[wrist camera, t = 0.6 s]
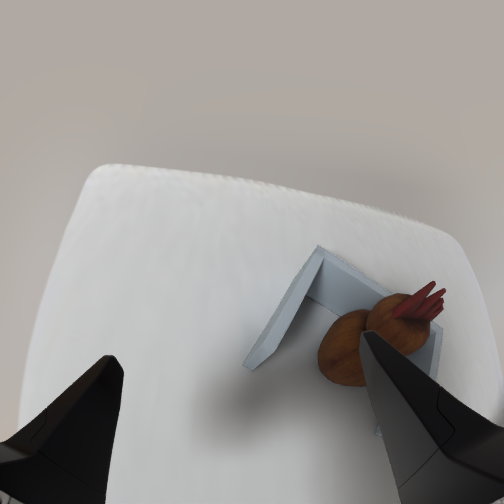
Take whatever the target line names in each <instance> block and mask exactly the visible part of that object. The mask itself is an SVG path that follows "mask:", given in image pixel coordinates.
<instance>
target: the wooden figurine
mask: <svg viewBox="0 0 504 504" xmlns="http://www.w3.org/2000/svg"><path fill="white" fill-rule="evenodd" d="M435 285H436V283H435V281H432V282H430V283H429V284H427V285H426V286H425V287H423V288H422V289H421V290H419V291H418V292H416V293H415V294H414V295H409V294H400V293H397V294H393V295H390V296H387V297H384V298H383V299H381V300H380V301H379V302H378V303H377V304H376V305H375V306H374V307H373V309H372V310H366V309H360V310H355V311H352V312H348V313H346V314H344V315H343V316H341V317H340V318H338V319H337V320H336V321H335V322H334V323H333V325H332V326H331V327H330V329H329V330H328V332H327V334H326V335H325V337H324V338H323V340H322V342H321V345H320V347H319V350H318V365H319V367H320V370H321V372H322V373H323V374H324V375H325V376H326V377H327V378H328V379H329V380H331V381H332V382H334V383H337V384H341V385H345V386H357V387H363V386H366V381H365V376H364V372H363V367H362V363H361V358H360V353H359V346H360V337H361V333H362V332H364V331H369V330H373V331H375V332H376V333H377V334H379V335H380V336H381V337H382V338H384V339H385V340H386V341H387V342H388V343H390V344H391V345H392V346H393V347H395V348H396V349H397V350H398V351H399V352H401V353H402V354H403V355H404V356H405V357H407V356H409V355H411V354H412V353H414V352H415V351H417V350H419V349H420V348H421V347H422V346H423V345H424V344H425V343H426V341H427V340H428V338H429V336H430V322H431V321H432V320H433V319H434V318H435V317H436V316H437V315H438V314H439V313H440V312H441V311H442V310H443V309H444V308H443V303H444V300H443V298H440V297H441V296H442V295H443V294H444V293H445V292H446V289H445V288H443V289H441V290H439V291H437V292H436V293H434V294H432V295H430V296H428V294H429V293H430V292H431V290H432V289H433V288H434V287H435ZM427 296H428V297H427ZM426 297H427V298H426Z"/></svg>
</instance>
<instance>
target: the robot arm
mask: <svg viewBox="0 0 504 504" xmlns="http://www.w3.org/2000/svg"><path fill="white" fill-rule="evenodd" d="M359 353H360V358H361V363H362V367H363V372H364V376H365V381H366V386H367V390H368V394H369V397H370V400H371V403H372V406H373V409H374V412H375V415H376V418H377V421H378V424H379V427H380V431H381V434H382V437H383V440H384V443H385V447H386V450H387V453H388V457H389V460H390V464H391V467H392V471H393V474H394V478H395V482H396V485H397V489H398V493H399V497H400V501H401V504H504V427H500V426H498V425H496V424H494V423H492V422H491V421H489V420H487V419H486V418H484V417H483V416H481V415H480V414H478V413H477V412H475V411H474V410H472V409H471V408H469V407H468V406H466V405H465V404H463V403H462V402H460V401H459V400H458V399H456V398H455V397H454V396H453V395H451V394H450V393H449V392H448V391H446V390H445V389H444V388H443V387H442V386H440V385H439V384H438V383H437V382H436V381H434V380H433V379H432V378H431V377H430V376H428V375H427V374H426V373H425V372H424V371H422V370H421V369H420V368H419V367H418V366H416V365H415V364H414V363H413V362H411V361H410V360H409V359H408V358H407V357H405V356H404V355H403V354H402V353H401V352H399V351H398V350H397V349H396V348H395V347H393V346H392V345H391V344H390V343H388V342H387V341H386V340H385V339H384V338H382V337H381V336H380V335H379V334H377V333H376V332H375V331H373V330H369V331H364V332H362V333H361V337H360V346H359ZM123 378H124V371H123V368H122V367H121V365H120V364H119V362H118V361H117V359H116V357H115V356H113V355H104V356H103V357H102V358H101V359H99V360H98V361H97V362H96V363H95V364H94V365H93V366H92V367H90V368H89V369H88V370H87V371H86V372H85V373H84V374H83V375H82V376H81V377H79V378H78V379H77V380H76V381H75V382H74V383H73V384H72V385H71V386H69V387H68V388H67V389H66V390H65V391H64V392H63V393H62V394H61V395H60V396H59V397H57V398H56V399H55V400H54V401H53V402H52V403H51V404H50V405H49V406H48V407H47V408H45V409H44V410H43V411H42V412H41V413H40V414H39V415H38V416H37V417H36V418H34V419H33V420H32V421H31V422H30V423H28V424H27V425H26V426H25V427H23V428H22V429H21V430H19V431H18V432H17V433H16V434H14V435H13V436H12V437H11V438H9V439H8V440H6V441H4V442H0V504H105V500H106V490H107V482H108V475H109V468H110V461H111V455H112V449H113V443H114V437H115V432H116V426H117V421H118V416H119V411H120V405H121V396H122V387H123Z"/></svg>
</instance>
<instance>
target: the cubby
mask: <svg viewBox="0 0 504 504" xmlns="http://www.w3.org/2000/svg"><path fill="white" fill-rule="evenodd" d="M305 295H307V296H308V297H310V298H311V299H313V300H315V301H316V302H318V303H319V304H321V305H323V306H324V307H326V308H327V309H329V310H331V311H332V312H334V313H335V314H337V315H339V316H340V317H341V316H343V315H344V314H346V313H348V312H352V311H355V310H360V309H366V310H372V309H373V307H374V306H375V305H376V304H377V303H378V302H379V301H380V300H381V299H383V298H384V297H387V296H390V295H393V293H391V292H390V291H388V290H387V289H385V288H384V287H382V286H381V285H379V284H378V283H376V282H375V281H373V280H372V279H370V278H369V277H367V276H366V275H364V274H363V273H361V272H360V271H358V270H357V269H355V268H354V267H352V266H351V265H349V264H348V263H346V262H344V261H343V260H341V259H340V258H338V257H337V256H335V255H334V254H332V253H330V252H329V251H327V250H326V249H324V248H323V247H321V246H319V245H318V246H317V247H316V249H315V250H314V251H313V253H312V254H311V256H310V257H309V259H308V260H307V261H306V263H305V264H304V266H303V267H302V268H301V270H300V271H299V273H298V274H297V275H296V277H295V278H294V280H293V282H292V283H291V285H290V287H289V289H288V290H287V292H286V294H285V295H284V297H283V299H282V301H281V302H280V304H279V306H278V307H277V309H276V311H275V312H274V314H273V316H272V317H271V319H270V321H269V323H268V324H267V326H266V327H265V329H264V331H263V332H262V334H261V336H260V337H259V339H258V341H257V342H256V344H255V346H254V347H253V349H252V350H251V352H250V354H249V355H248V357H247V358H246V360H245V362H244V363H243V365H244V366H246V367H247V368H249V369H251V370H252V371H253V370H254V369H255V368H256V367H257V366H258V365H260V364H261V363H262V362H263V361H264V360H265V359H266V358H268V357H269V356H270V355H271V354H272V353H273V352H274V351H275V350H276V348H277V347H278V345H279V343H280V341H281V339H282V338H283V336H284V334H285V332H286V330H287V329H288V327H289V325H290V323H291V321H292V319H293V317H294V316H295V314H296V312H297V310H298V308H299V306H300V304H301V302H302V300H303V298H304V297H305ZM442 335H443V328H442V327H440V326H439V325H437V324H436V323H435V322H433V321H431V322H430V336H429V338H428V340H427V341H426V343H425V344H424V345H423V346H422V347H421V348H420V349H419V350H417V351H415V352H414V353H412V354H411V355H409V356H407V358H408V359H409V360H410V361H411V362H413V363H414V364H415V365H416V366H418V367H419V368H420V369H421V370H422V371H424V372H425V373H426V374H427V375H428V376H430V377H431V378H432V379H433V380H434V381H436V376H437V370H438V364H439V358H440V351H441V343H442ZM375 435H377V436H379V437H382V434H381V431H380V427H379V424H378V427H377V429H376V432H375Z"/></svg>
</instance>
